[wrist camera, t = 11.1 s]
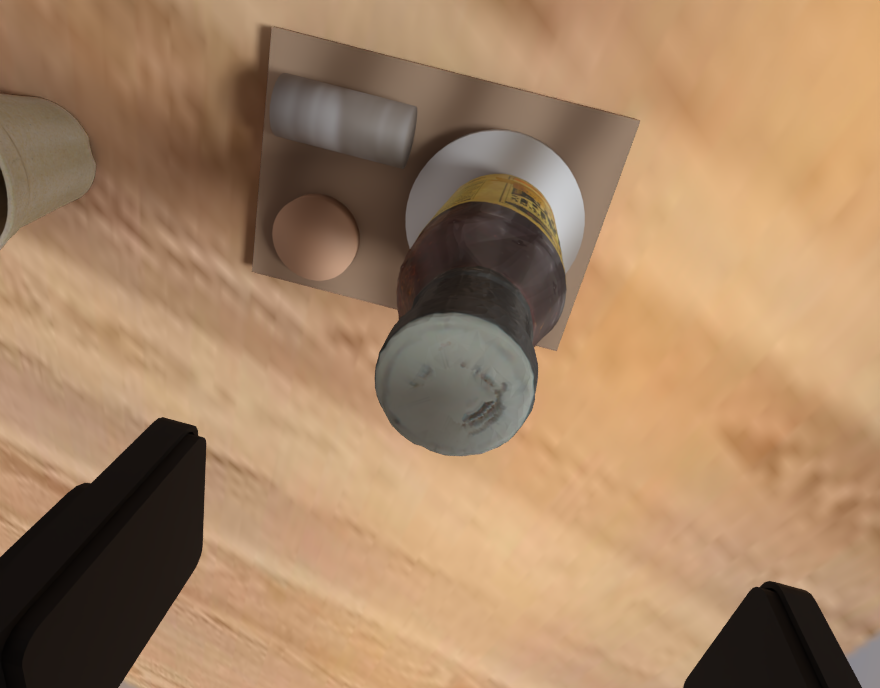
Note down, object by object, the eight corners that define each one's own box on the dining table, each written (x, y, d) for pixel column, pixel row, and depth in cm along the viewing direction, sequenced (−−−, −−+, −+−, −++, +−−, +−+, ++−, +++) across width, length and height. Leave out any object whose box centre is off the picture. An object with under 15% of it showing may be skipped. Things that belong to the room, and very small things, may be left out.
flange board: (636, 118, 31) (653, 126, 27) (555, 342, 37) (560, 375, 33) (280, 27, 31) (245, 21, 27) (259, 266, 37) (229, 289, 33)
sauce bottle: (565, 264, 32) (616, 493, 14) (460, 290, 34) (388, 528, 16) (538, 147, 30) (559, 249, 12) (426, 181, 31) (296, 317, 13)
